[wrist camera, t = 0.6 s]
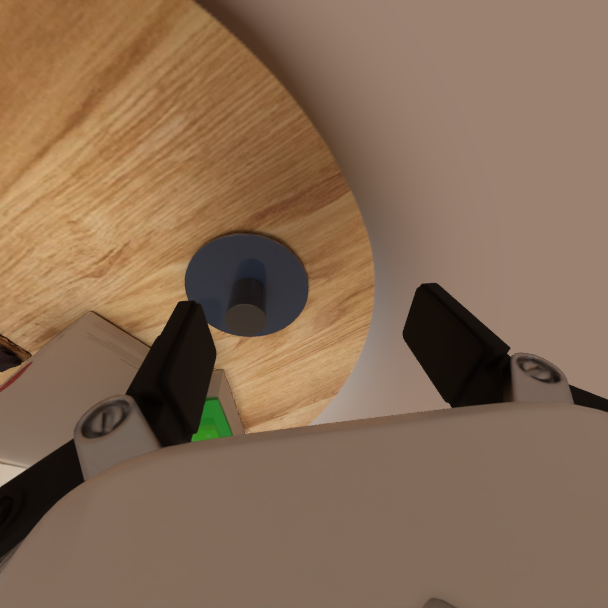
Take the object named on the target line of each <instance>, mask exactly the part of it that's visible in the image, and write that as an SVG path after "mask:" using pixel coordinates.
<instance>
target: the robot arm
mask: <svg viewBox="0 0 608 608" xmlns="http://www.w3.org/2000/svg"><path fill="white" fill-rule="evenodd" d="M403 338H404V340H405V342H406V343H407V345H408V346H409V348H410V349H411V351H412V352H413V354H414V355H415V357H416V359H417V360H418V361H419V363H420V365H421V366H422V368H423V369H424V371H425V372H426V374H427V375H428V377H429V378H430V380H431V381H432V383H433V384H434V386H435V387H436V389H437V390H438V392H439V393H440V395H441V396H442V398H443V399H444V401H445V402H447V403H449V404H450V406H451V407H452V408H450V409H442V410H434V411H425V412H417V413H408V414H399V415H391V416H383V417H376V418H367V419H359V420H352V421H343V422H336V423H327V424H319V425H312V426H304V427H296V428H288V429H281V430H273V431H265V432H258V433H250V434H243V435H236V436H229V437H222V438H215V439H209V440H202V441H195V442H191V440H192V436H193V434H196V433H197V432H198V430H199V426H200V422H201V417H202V413H203V409H204V405H205V401H206V397H207V393H208V389H209V384H210V380H211V376H212V372H213V368H214V364H215V360H216V348H215V345H214V342H213V339H212V336H211V333H210V330H209V327H208V323H207V320H206V317H205V314H204V311H203V308H202V305H201V304H200V303H198V304H197V303H196V301H194V300H191V301H180V302H178V304H177V306H176V307H175V309H174V311H173V313H172V315H171V317H170V318H169V320H168V322H167V324H166V326H165V327H164V329H163V331H162V333H161V335H159V336H158V337H157V338H156V340H155V341H154V343H153V345H152V347H151V348H150V350H149V352H148V354H147V356H146V357H145V359H144V361H143V363H142V365H141V366H140V368H139V370H138V372H137V373H136V375H135V377H134V379H133V381H132V382H131V384H130V386H129V388H128V390H127V391H126V393H125V395H115V396H111V397H108V398H106V399H104V400H102V401H100V402H98V403H97V404H95V405H94V406H92V407H91V408H90V409H89V410H87V411H86V412H85V413H84V414H83V415H82V417H81V418H80V419H79V421H78V422H77V424H76V426H75V428H74V434H73V439H71V440H70V441H68V442H67V443H65V444H64V445H62V446H61V447H59V448H58V449H56V450H55V451H53V452H52V453H50V454H49V455H47V456H46V457H44V458H43V459H41V460H40V461H38V462H37V463H35V464H34V465H32V466H31V467H29V468H28V469H26V470H25V471H23V472H22V473H20V474H19V475H17V476H16V477H14V478H13V479H11V480H10V481H8V482H7V483H5V484H4V485H2V486H1V487H0V608H608V400H607V399H605V398H602V397H600V396H597V395H594V394H592V393H590V392H587V391H584V390H582V389H579V388H576V387H574V386H571V385H569V384H568V381H567V378H566V377H565V375H564V373H563V372H562V371H561V370H560V369H559V368H558V367H556V366H555V365H554V364H552V363H551V362H549V361H547V360H545V359H544V358H541V357H539V356H536V355H533V354H529V353H515V354H514V355H512V356H511V357H510V356H509V355H508V354H507V353H508V351H509V350H510V347H509V346H508V345H507V344H506V343H504V342H503V341H502V340H501V339H500V338H499V337H498V336H497V335H495V334H494V333H493V332H492V331H491V330H490V329H488V328H487V327H486V326H485V325H484V324H483V323H482V322H480V321H479V320H478V319H477V318H476V317H475V316H474V315H473V314H472V313H470V312H469V311H468V310H467V309H466V308H465V307H463V306H462V305H461V304H460V303H459V302H458V301H457V300H456V299H454V298H453V297H452V296H451V295H450V294H449V293H448V292H446V291H445V290H444V289H443V288H442V287H441V286H440V285H439V284H437V283H426V284H421V285H420V287H418V288H417V289H416V292H415V295H414V298H413V301H412V304H411V308H410V311H409V314H408V317H407V320H406V323H405V326H404V330H403Z"/></svg>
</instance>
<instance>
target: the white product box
mask: <svg viewBox="0 0 608 608" xmlns="http://www.w3.org/2000/svg"><path fill="white" fill-rule="evenodd" d="M149 350H150V348H149V347H147V346H146V345H144V344H143V343H141V342H139V341H138V340H136V339H135V338H133V337H131V336H130V335H128V334H127V333H125V332H123V331H122V330H120V329H119V328H117V327H115V326H114V325H112V324H111V323H109V322H107V321H106V320H104V319H103V318H101V317H99V316H98V315H96V314H95V313H93V312H91V311H90V312H88V313H86V314H85V315H84V316H82V317H81V318H79V319H78V320H77V321H75V322H74V323H73V324H71V325H70V326H69V327H67V328H66V329H65V330H63V331H62V332H61V333H59V334H58V335H57V336H55V337H54V338H53V339H51V340H50V341H49V342H48V343H46V344H45V345H44V346H43V347H42V348H41V349H40V350H39V351H38V352H37V353H36V354H35V355H34V356H32V357H31V358H30V359H29V360H28V361H27V362H26V363H25V364H24V365H23V366H22V367H21V368H19V369H18V370H17V371H16V372H15V373H14V374H13V375H12V376H11V377H10V378H9V379H8V380H7V381H5V382H4V383H3V384H2V385H1V386H0V487H1V486H2V485H4V484H5V483H7V482H8V481H10V480H11V479H13V478H14V477H16V476H17V475H19V474H20V473H22V472H23V471H25V470H26V469H28V468H29V467H31V466H32V465H34V464H35V463H37V462H38V461H40V460H41V459H43V458H44V457H46V456H47V455H49V454H50V453H52V452H53V451H55V450H56V449H58V448H59V447H61V446H62V445H64V444H65V443H67V442H68V441H70V440H71V439H73V434H74V428H75V426H76V424H77V422H78V421H79V419H80V418H81V417H82V415H83V414H84V413H85V412H86V411H87V410H89V409H90V408H91V407H92V406H94V405H95V404H97V403H98V402H100V401H102V400H104V399H106V398H108V397H111V396H115V395H125V393H126V391H127V390H128V388H129V386H130V384H131V382H132V381H133V379H134V377H135V375H136V373H137V372H138V370H139V368H140V366H141V365H142V363H143V361H144V359H145V357H146V356H147V354H148V352H149Z"/></svg>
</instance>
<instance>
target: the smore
mask: <svg viewBox="0 0 608 608" xmlns="http://www.w3.org/2000/svg"><path fill="white" fill-rule="evenodd" d="M30 357H31V355H29V354H28V353H27V352H25V351H23V350H22V349H21V348H20V347H19V346H15V345H14V344H12V343H10V342H8V340H7V339H6V338H1V336H0V372H3V371H6V370H7V369H10V368H12V367H16V366H19V365H21V362H23V361H26V360H27V359H29V358H30Z"/></svg>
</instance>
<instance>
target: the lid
mask: <svg viewBox="0 0 608 608" xmlns="http://www.w3.org/2000/svg"><path fill="white" fill-rule="evenodd" d="M185 290H186V294H187V297H188V300H189V301H191V300H194V301H196V303H197V304H198V303H200V304H201V305H202V308H203V311H204V314H205V317H206V320H207V323H208V324H210V325H211V326H213V327H215V328H216V329H218V330H221V331H223V332H226V333H229V334H232V335H237V336H245V337H256V336H264V335H268V334H272V333H275V332H277V331H279V330H281V329H283V328H285V327H287V326H288V325H290V324H291V323H292V322H293V321H294V320H295V319H296V318H297V317H298V316H299V315H300V313H301V312H302V310H303V308H304V306H305V304H306V301H307V297H308V279H307V276H306V272H305V270H304V267H303V265H302V264H301V262H300V261H299V259H298V258H297V257H296V255H295V254H294V253H293V252H292V251H291V250H290V249H288V248H287V247H286V246H284V245H283V244H281V243H280V242H278V241H276V240H274V239H272V238H269V237H266V236H263V235H259V234H254V233H233V234H227V235H224V236H220V237H218V238H215V239H213V240H211V241H210V242H208V243H206V244H205V245H204V246H202V247H201V248H200V249H199V250H198V251H197V252H196V254H195V255H194V256H193V258H192V259H191V261H190V263H189V265H188V267H187V270H186V275H185Z"/></svg>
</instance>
